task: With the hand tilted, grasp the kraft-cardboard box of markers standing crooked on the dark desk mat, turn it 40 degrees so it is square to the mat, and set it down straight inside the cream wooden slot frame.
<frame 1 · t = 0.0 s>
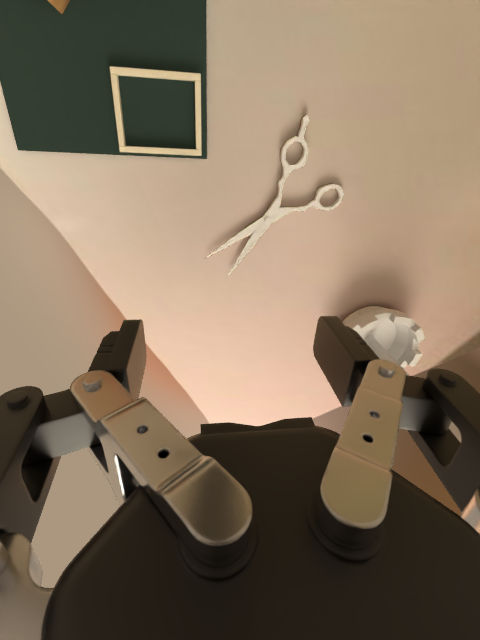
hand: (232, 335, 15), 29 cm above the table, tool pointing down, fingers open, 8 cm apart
mat: (100, 24, 30), on the table
flag stand: (365, 335, 53), on the table
scissors: (269, 213, 41), on the table
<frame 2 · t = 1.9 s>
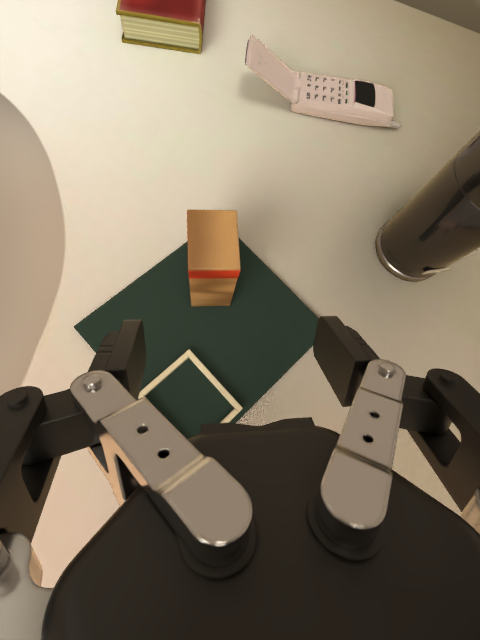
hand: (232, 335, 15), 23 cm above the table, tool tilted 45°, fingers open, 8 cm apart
mat: (207, 328, 38), on the table
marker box: (210, 282, 39), resting on mat
mobile phone: (320, 107, 50), on the table
hardcover book: (169, 2, 52), on the table
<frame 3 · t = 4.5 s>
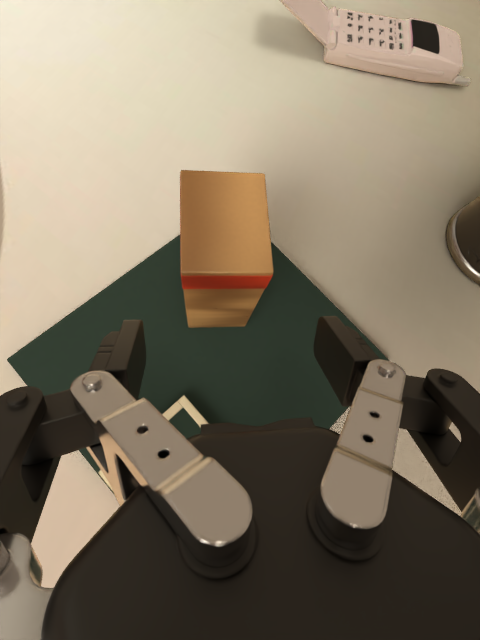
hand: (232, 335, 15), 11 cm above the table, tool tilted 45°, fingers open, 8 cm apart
mat: (211, 361, 25), on the table
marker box: (215, 292, 27), resting on mat
mobile phone: (361, 58, 38), on the table
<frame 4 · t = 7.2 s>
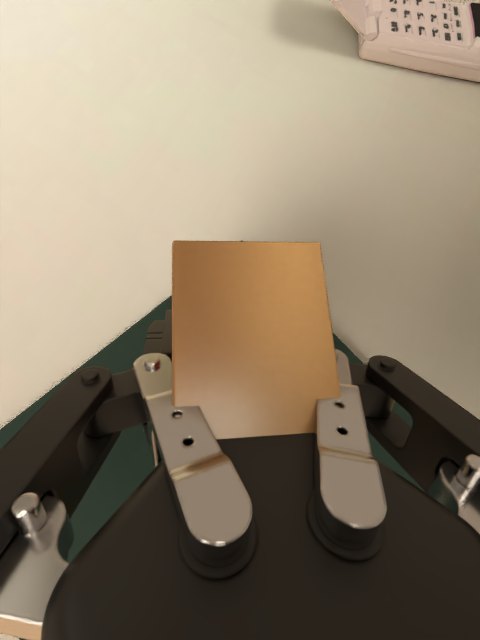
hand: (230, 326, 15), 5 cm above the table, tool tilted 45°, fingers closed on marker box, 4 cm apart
mat: (220, 479, 18), on the table
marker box: (225, 376, 19), point 1 cm above the table, touching gripper, mat
mobile phone: (404, 53, 30), on the table
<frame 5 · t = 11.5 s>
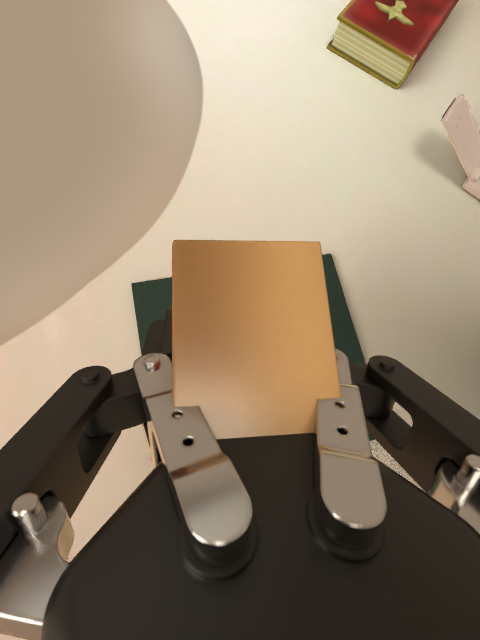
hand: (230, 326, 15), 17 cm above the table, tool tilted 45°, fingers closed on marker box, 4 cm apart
mat: (257, 359, 32), on the table
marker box: (226, 375, 19), point 13 cm above the table, touching gripper
hardcover book: (390, 32, 49), on the table
when the fingers open (5 cm above the table, at t = 16.1 s): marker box stays where it is, resting on mat.
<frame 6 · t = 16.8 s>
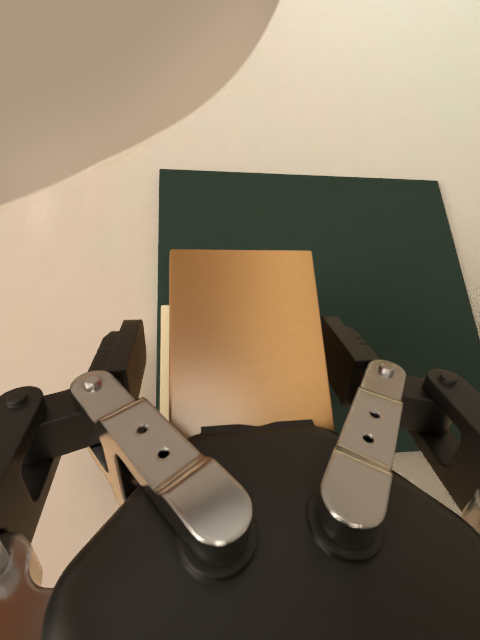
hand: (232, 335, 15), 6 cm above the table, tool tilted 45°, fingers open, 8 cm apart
mat: (320, 300, 22), on the table
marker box: (223, 378, 19), resting on mat
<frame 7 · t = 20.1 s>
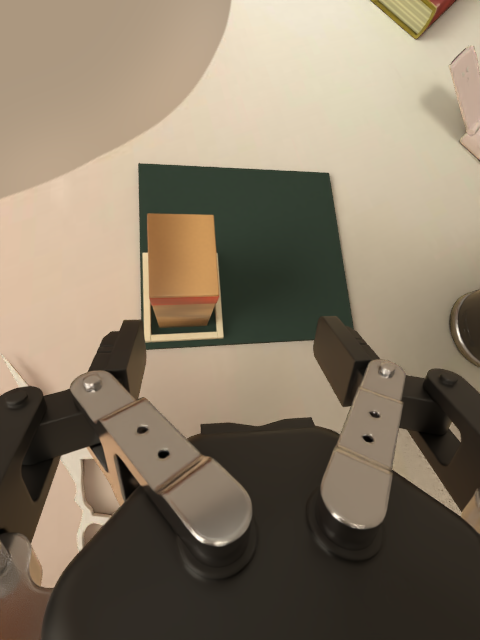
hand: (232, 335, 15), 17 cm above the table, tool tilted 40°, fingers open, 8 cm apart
mat: (246, 252, 35), on the table
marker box: (182, 297, 32), resting on mat
scissors: (72, 445, 28), on the table
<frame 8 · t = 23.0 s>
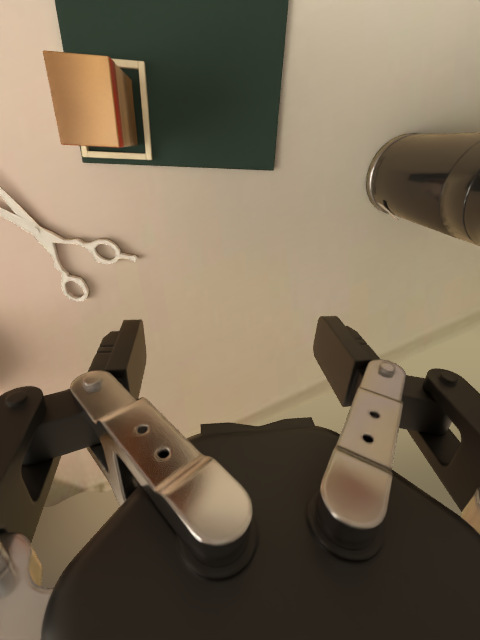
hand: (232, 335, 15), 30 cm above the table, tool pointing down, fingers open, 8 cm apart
mat: (177, 59, 33), on the table
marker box: (112, 112, 34), resting on mat
scissors: (45, 232, 39), on the table
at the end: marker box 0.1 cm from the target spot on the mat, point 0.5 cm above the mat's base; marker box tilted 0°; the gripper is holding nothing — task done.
